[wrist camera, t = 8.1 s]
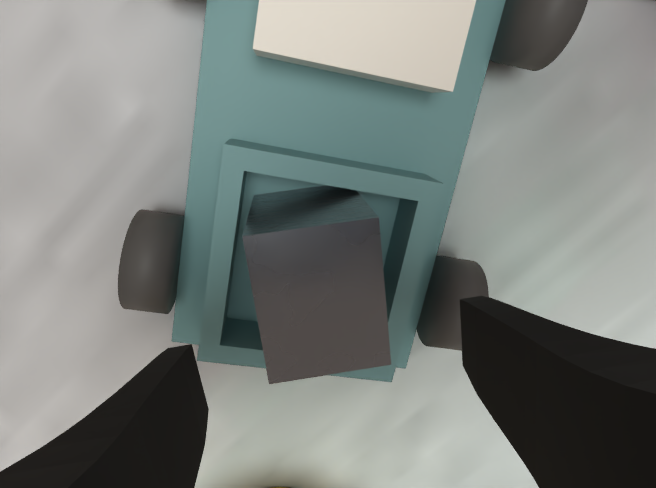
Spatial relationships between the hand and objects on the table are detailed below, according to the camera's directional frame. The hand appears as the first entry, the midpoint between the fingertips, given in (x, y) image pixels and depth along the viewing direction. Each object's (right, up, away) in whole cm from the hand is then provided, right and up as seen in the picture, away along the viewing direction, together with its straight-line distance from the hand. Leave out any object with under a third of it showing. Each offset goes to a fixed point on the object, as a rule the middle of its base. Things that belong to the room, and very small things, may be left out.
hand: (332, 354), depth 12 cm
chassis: (0, +8, +7) cm, 11 cm away
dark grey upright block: (-1, +3, +8) cm, 8 cm away
